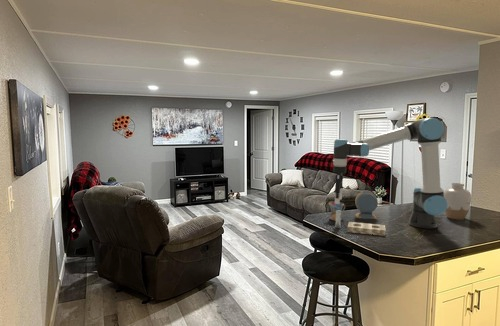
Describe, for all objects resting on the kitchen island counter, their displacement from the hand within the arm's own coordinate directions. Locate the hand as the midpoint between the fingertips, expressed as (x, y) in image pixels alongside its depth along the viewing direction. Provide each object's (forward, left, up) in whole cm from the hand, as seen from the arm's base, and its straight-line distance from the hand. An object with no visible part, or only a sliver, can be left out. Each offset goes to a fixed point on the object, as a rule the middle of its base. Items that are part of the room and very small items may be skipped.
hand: (338, 201), depth 199 cm
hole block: (-16, +2, -16) cm, 23 cm away
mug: (+2, -18, -16) cm, 24 cm away
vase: (-71, -50, -16) cm, 89 cm away
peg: (0, 0, -16) cm, 16 cm away
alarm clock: (-15, -32, -16) cm, 39 cm away
